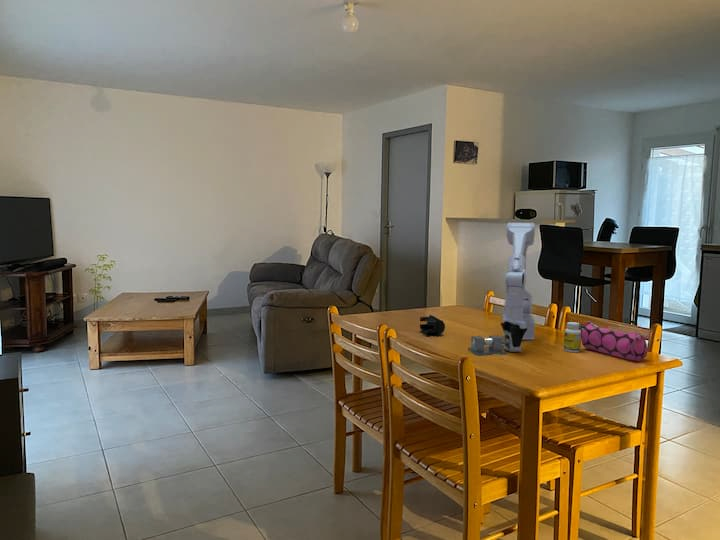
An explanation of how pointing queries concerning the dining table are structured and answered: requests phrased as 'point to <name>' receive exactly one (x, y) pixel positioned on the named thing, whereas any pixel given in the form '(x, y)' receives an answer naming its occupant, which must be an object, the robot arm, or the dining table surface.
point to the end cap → (432, 326)
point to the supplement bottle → (572, 337)
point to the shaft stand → (492, 341)
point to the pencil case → (614, 342)
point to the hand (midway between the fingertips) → (512, 344)
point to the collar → (510, 342)
